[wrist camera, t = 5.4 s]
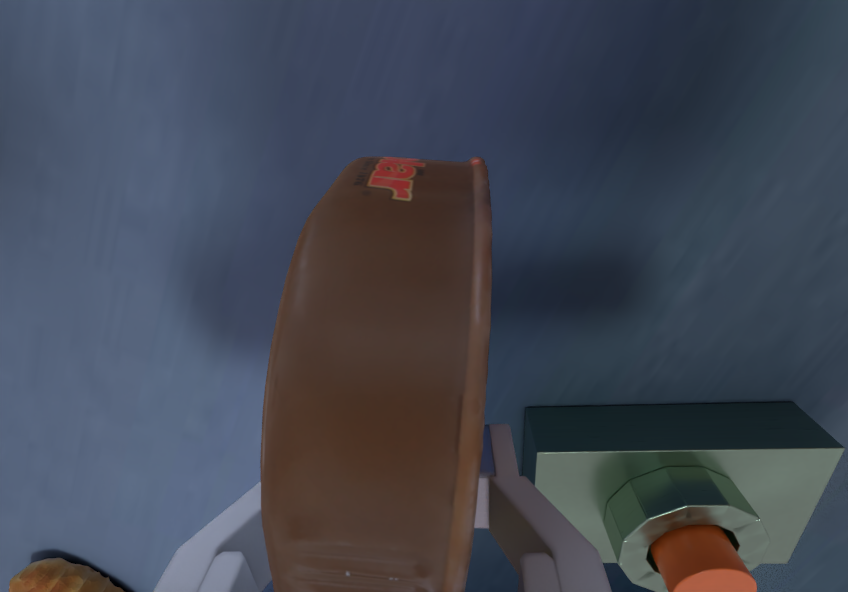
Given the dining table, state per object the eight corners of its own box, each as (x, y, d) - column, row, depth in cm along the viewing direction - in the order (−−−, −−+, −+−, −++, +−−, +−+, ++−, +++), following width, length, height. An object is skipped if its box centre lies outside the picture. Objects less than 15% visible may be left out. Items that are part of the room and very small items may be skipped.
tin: (433, 518, 17) (442, 849, 10) (357, 515, 17) (308, 848, 10) (477, 132, 10) (615, 263, 3) (351, 124, 10) (164, 239, 3)
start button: (657, 520, 18) (680, 569, 16) (734, 520, 18) (767, 569, 16) (644, 566, 19) (665, 616, 18) (716, 566, 19) (745, 616, 17)
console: (525, 407, 21) (546, 490, 17) (793, 401, 21) (891, 488, 16) (520, 511, 25) (536, 604, 20) (749, 510, 24) (819, 607, 20)
